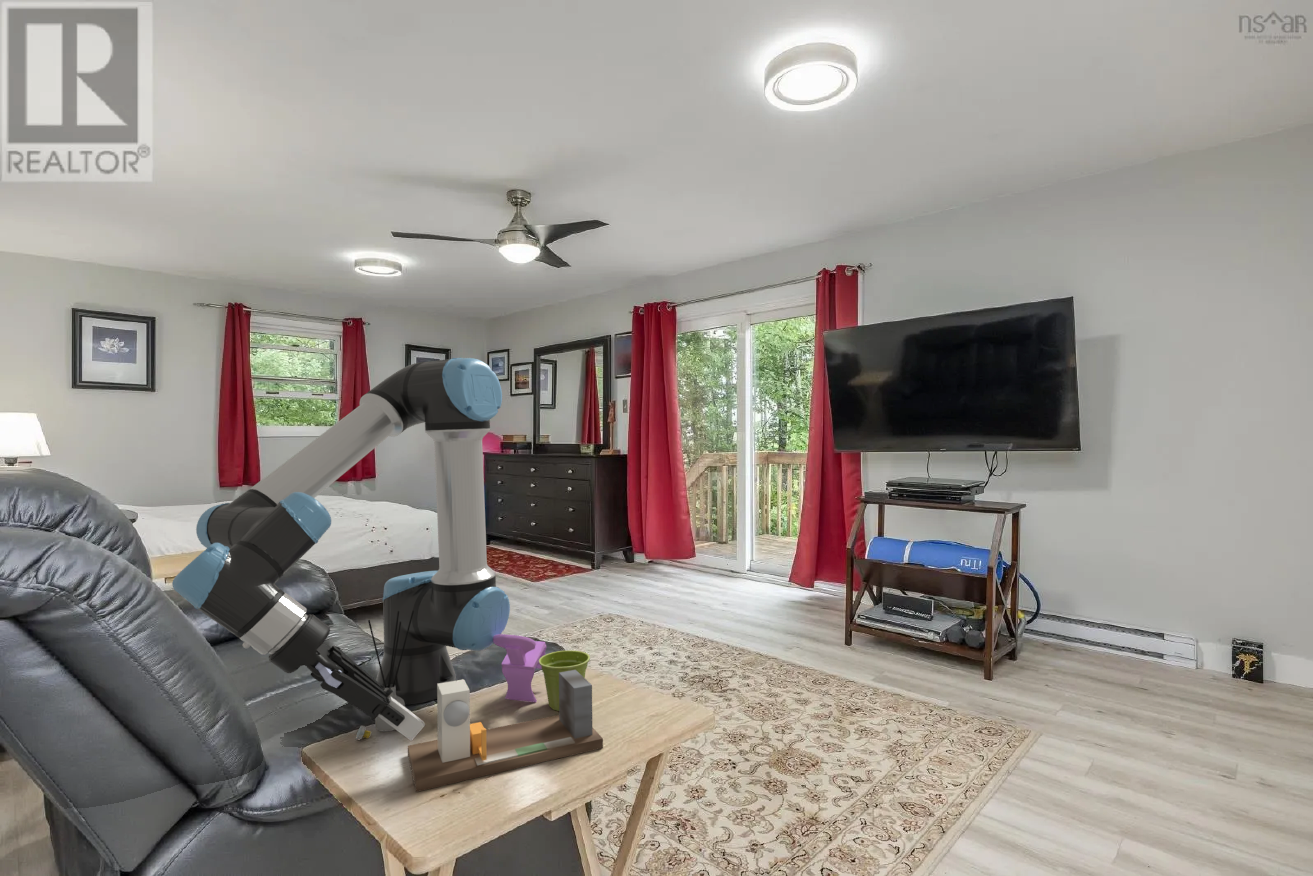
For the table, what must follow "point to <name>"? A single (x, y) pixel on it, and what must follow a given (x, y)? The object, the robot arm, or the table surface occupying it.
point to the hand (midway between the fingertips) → (417, 731)
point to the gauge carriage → (453, 720)
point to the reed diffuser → (380, 723)
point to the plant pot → (561, 670)
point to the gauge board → (517, 741)
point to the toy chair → (520, 664)
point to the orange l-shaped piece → (478, 740)
